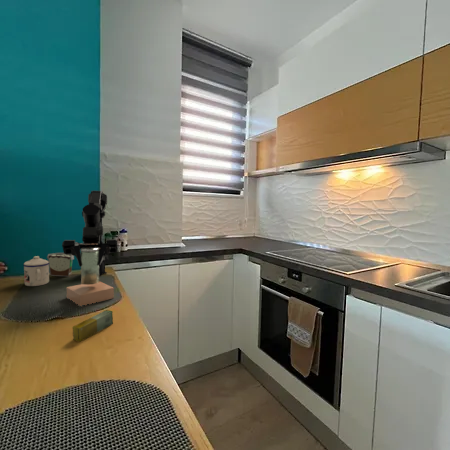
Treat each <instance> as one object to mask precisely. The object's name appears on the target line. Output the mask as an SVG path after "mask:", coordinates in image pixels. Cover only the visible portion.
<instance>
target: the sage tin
mask: <svg viewBox="0 0 450 450" xmlns="http://www.w3.org/2000/svg"><path fill="white" fill-rule="evenodd" d="M80 253H81V267H80V279H81V280H80V284H85V285H89V284H96V283H98V282H99V281H100V275H99V248H98V247H84V248H81V249H80Z"/></svg>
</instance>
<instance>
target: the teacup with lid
mask: <svg viewBox="0 0 450 450" xmlns="http://www.w3.org/2000/svg"><path fill="white" fill-rule="evenodd" d="M23 271H24V272H23V273H24V274H23V275H24V277H23V279H24V286H27V287H38V286H43V285H46V284H48V283H49V282H50V269H49V261H48V259H47V260H46V259H43V258H42V257H41V258H40V256H39V255H37V256H36V255H35V256H33V258H32V259H29V260H27V261H25V262H24V263H23Z"/></svg>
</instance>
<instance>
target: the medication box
mask: <svg viewBox="0 0 450 450" xmlns="http://www.w3.org/2000/svg"><path fill="white" fill-rule="evenodd" d="M113 324H114V320H113V311H112V310H104V311H101V312H99V313H98V314H95V315H93V316H92V317H89V318H87V319H85V320H83V321H81V322H79V323H78V324H76V325H73V326H72V341H76V342H82V341H84V340H86V339H88V338H89V337H91V336H93V335H95V334H97V333H98V332H101V331H103V330H104V329H106V328H108V327H109V326H111V325H113Z"/></svg>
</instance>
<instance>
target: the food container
mask: <svg viewBox="0 0 450 450" xmlns="http://www.w3.org/2000/svg"><path fill="white" fill-rule="evenodd" d="M46 259H47V261H49V276H53V277H55V276H56V277H66V278H67V277H71V275H72V268H73V260H75V256H73V255H72V254H64V252H55V253H54V252H53V253H48V254H47V256H46Z"/></svg>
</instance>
